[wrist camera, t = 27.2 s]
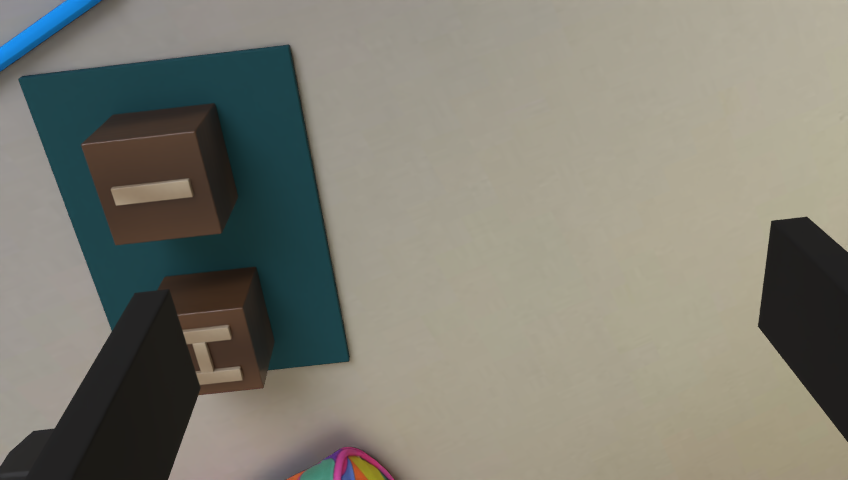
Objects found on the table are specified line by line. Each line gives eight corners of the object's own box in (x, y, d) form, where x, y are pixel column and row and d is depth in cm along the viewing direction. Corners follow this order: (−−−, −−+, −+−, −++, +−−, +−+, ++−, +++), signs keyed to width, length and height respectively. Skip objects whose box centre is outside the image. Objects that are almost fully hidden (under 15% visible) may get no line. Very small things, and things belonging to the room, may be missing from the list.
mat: (22, 76, 38) (17, 78, 38) (289, 44, 38) (288, 46, 37) (134, 380, 47) (132, 385, 47) (349, 357, 47) (349, 361, 47)
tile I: (112, 114, 39) (77, 146, 34) (215, 102, 39) (193, 133, 34) (141, 208, 41) (112, 248, 37) (238, 197, 41) (221, 236, 37)
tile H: (164, 276, 43) (139, 322, 39) (256, 266, 43) (241, 310, 39) (187, 351, 46) (166, 402, 42) (275, 342, 46) (263, 391, 41)
